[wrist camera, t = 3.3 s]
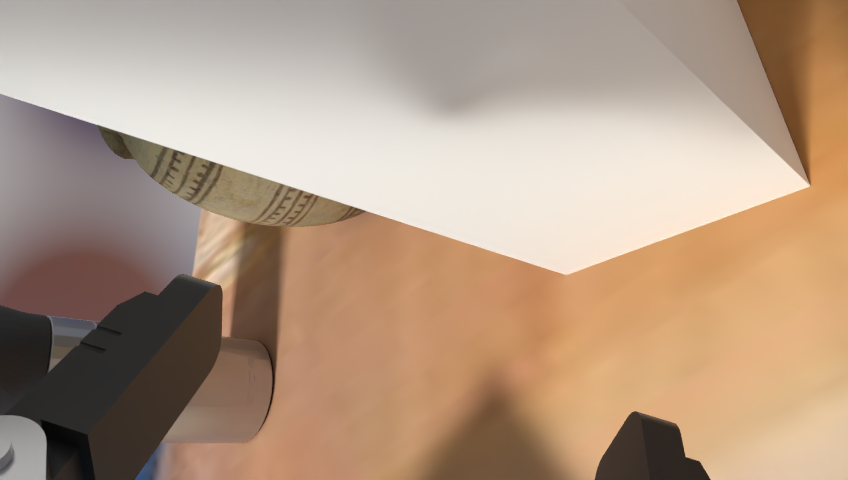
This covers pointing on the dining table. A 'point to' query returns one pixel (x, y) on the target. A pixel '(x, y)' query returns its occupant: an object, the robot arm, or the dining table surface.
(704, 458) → the dining table surface
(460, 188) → the post
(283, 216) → the ceramic vessel
